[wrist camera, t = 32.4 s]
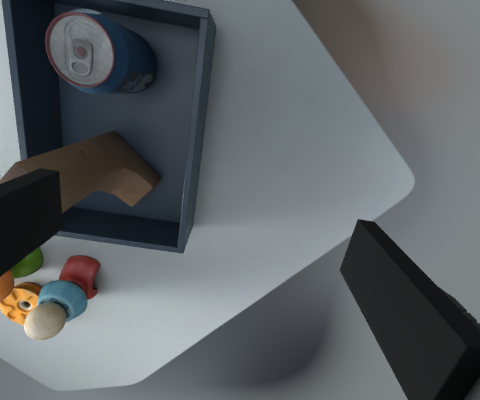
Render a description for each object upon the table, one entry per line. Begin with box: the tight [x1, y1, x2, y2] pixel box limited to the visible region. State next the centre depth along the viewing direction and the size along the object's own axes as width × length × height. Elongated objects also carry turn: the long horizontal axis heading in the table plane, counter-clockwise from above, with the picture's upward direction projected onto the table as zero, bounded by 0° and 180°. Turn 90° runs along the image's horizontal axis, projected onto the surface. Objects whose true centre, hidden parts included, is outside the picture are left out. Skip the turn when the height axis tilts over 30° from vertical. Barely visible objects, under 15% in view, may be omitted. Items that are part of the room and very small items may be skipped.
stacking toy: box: [0, 247, 100, 340], centre depth 42 cm, size 18×17×12 cm
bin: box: [2, 0, 216, 253], centre depth 35 cm, size 28×20×8 cm
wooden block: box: [0, 131, 161, 213], centre depth 31 cm, size 9×4×18 cm, turn 41°
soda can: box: [45, 9, 156, 94], centre depth 29 cm, size 7×7×12 cm
